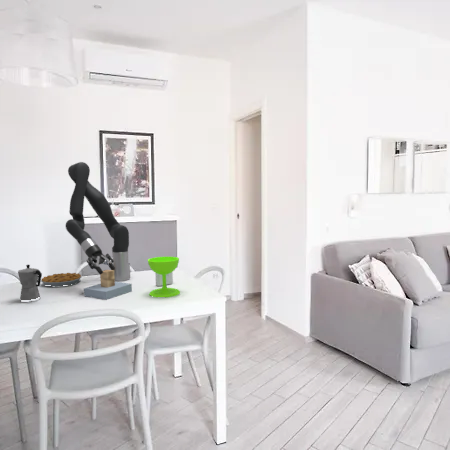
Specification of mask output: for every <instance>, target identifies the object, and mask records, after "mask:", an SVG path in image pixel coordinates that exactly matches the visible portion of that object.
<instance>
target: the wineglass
mask: <svg viewBox="0 0 450 450" xmlns="http://www.w3.org/2000/svg"><path fill="white" fill-rule="evenodd" d="M147 262H148V263H147V264H148V266H149V268H150V269H151V271H152V272H153V273H154V274H155V273H157V274H160V275H162V282H163V285H162V286H161V287H160V288H156V289H152V290H151V291H150V292H149V294H148V295H149V296H150V295H151V296H150V297H152V296H153V297H152V298H158V297H165V298H172V297H176V296H178V295H180V293H181V291H180V289H178V288H175V287H174V288H173V287H167V285H166V274H169V273H171V272H172V273H173V272H175V270H176V269H177V267H178V266H179V262H180V257H176V256H156V257H151V258H150V257H149V258H148V259H147Z"/></svg>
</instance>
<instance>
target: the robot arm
mask: <svg viewBox="0 0 450 450" xmlns="http://www.w3.org/2000/svg"><path fill="white" fill-rule="evenodd" d="M67 172H68V176H69V177H70V179H71V180H72V181H73V183H74V184H75V185H74V189H73V191H72V195H71V198H70V201H69V211H68V212H69V215H70V216H71V217H72V219H68V220H67V221H66V222H65V230H66V231H67V232H68V234H70V235H71V237H72V238H74V239H75V240H76V241H77V243H78V244H79V245H80V247H81V249H82V251H83V252H84V254H85V255H86V257H88V258H87V259H86V263H87V265H88V266H89V268H90V269H91V270H95V271H96V272H97V274H99V275H100V274H102V273H103V271H104V270H102V268H101V267H100V266H99V265H102V264H103V265H106V266H108V267H109V270H114V277H115V282H124V281H128V280H129V279H131V265H130V264H131V263H130V262H129V246H130V235H129V234H130V233H129V229H128V227H127V226H125V225H122V224H121V223H119V222H118V220H117V219H116V218H115V217H116V216H114V214H113V211H112V208H111V205H110V202H109V200H107V198H106V196H105V195H104V194H103V193H102V192H101V191H100V190H99V189H98V188H96V187H95V186H94V185H92V184H91V182H90V181H89V177H90V173H91V172H90V167H89V165H88V163H86V162H84V161H79V162H76V163H75V164H71V165H70V166H69V167H68V170H67ZM85 199H86V200H87V201H88V203H89V205H90V206H91V208H92V209H93V211H94V212H95V213H96V215H97V216H98V218H99V219H100V220H101V221H102V222H103V224H104V226H105V227H106V228H105V229H106V230H107V232H108V234H109V235H110V237H111V238H112V239H113V246H112V247H111V251H112V255H110V254H109V253H106V254H104V253H103V250H102V249H101V248H100V246H99V245H98V243H97V242H96V241H95V240H94V239H93V237H91V235H90V234H89V233H88V232H87V231H85V227H86V226H85V225H86V224H85V217H84V204H85ZM111 256H112V257H111Z"/></svg>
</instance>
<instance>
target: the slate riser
mask: <svg viewBox="0 0 450 450" xmlns="http://www.w3.org/2000/svg"><path fill="white" fill-rule="evenodd" d="M132 285H133V284H132V283H127V282H123V281H115V286H111V287H108V288H107V287H101V283H97V284H94V285H90V286H87V287H84V288H83V296H84V297H88V298H94V299H101V300H110V299H113V298H115V297H118V296H122V295H125V294H127V293H131V292H133V287H132Z"/></svg>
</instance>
